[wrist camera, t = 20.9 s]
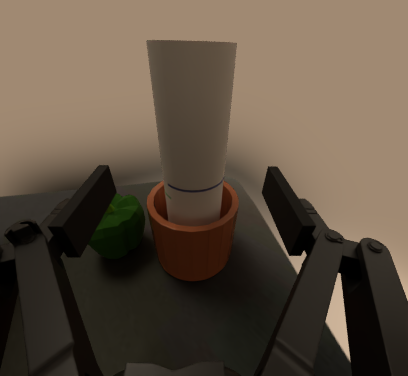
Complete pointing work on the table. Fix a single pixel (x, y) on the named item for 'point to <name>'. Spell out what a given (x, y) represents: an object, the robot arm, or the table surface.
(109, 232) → the bell pepper
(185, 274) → the crock
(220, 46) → the cylindrical container
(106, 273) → the table surface
